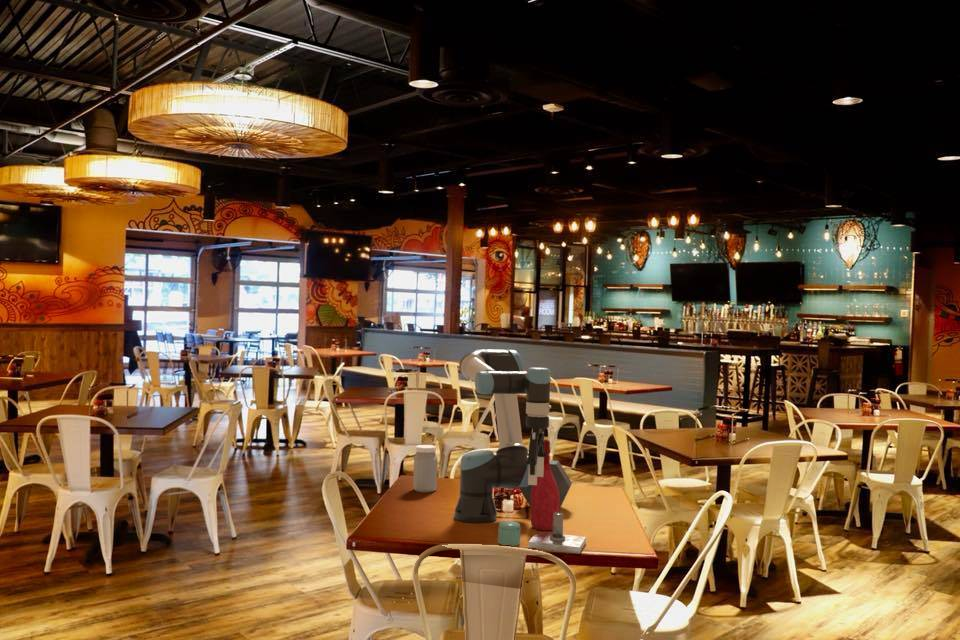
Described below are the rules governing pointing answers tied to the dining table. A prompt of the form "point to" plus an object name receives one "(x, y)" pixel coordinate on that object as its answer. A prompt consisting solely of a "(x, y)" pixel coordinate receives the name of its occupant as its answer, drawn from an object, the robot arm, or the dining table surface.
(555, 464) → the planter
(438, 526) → the dining table surface
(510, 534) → the cap
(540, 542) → the stud base
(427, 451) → the jar
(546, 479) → the wine bottle
